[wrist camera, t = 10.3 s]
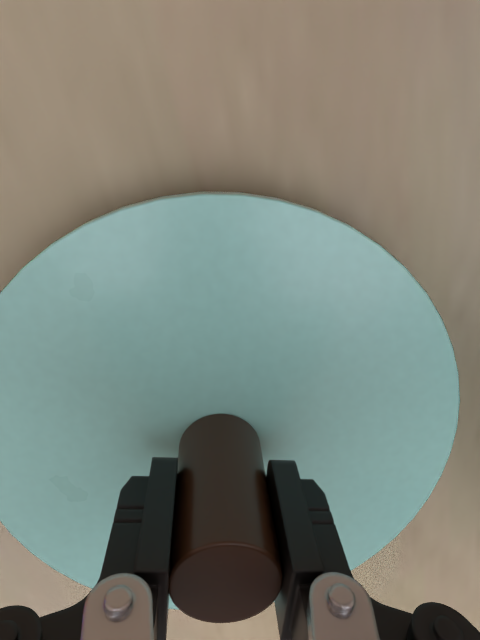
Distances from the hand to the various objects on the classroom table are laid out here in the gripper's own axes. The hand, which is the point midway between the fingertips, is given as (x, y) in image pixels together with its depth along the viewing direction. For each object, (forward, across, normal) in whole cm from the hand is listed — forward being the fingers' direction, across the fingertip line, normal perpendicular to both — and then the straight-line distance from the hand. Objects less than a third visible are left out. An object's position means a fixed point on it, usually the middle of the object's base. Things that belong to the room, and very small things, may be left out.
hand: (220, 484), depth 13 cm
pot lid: (+2, 0, 0) cm, 2 cm away
